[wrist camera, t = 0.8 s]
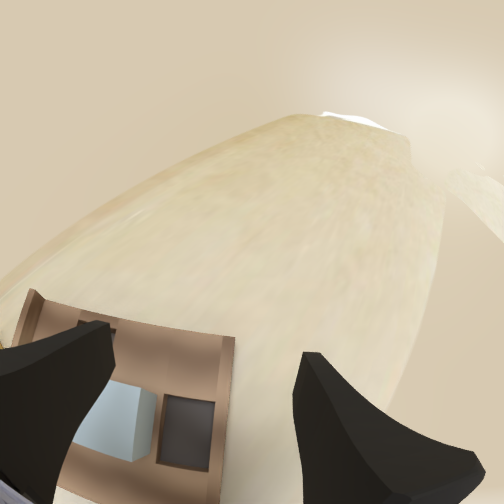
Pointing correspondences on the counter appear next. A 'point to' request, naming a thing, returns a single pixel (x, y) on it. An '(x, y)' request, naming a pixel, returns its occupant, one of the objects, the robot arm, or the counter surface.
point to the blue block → (119, 422)
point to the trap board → (166, 411)
